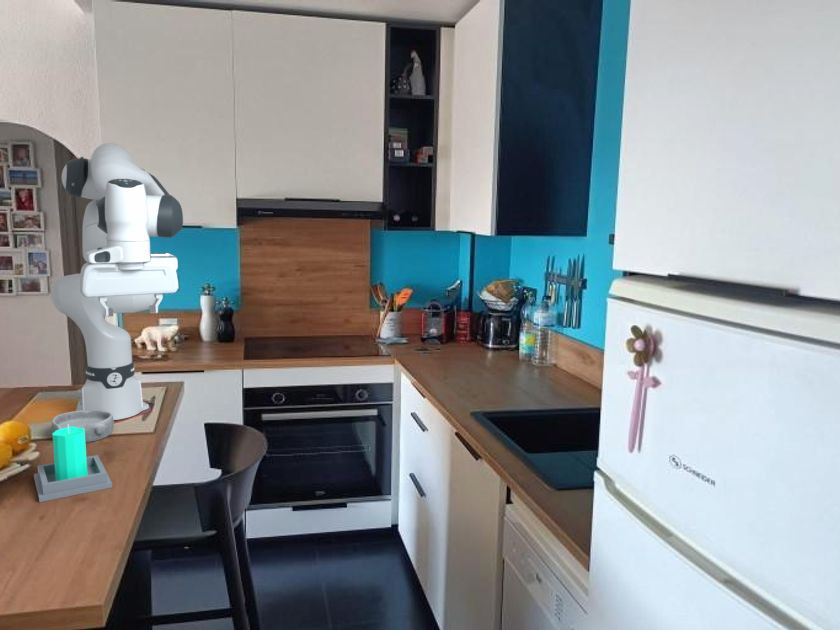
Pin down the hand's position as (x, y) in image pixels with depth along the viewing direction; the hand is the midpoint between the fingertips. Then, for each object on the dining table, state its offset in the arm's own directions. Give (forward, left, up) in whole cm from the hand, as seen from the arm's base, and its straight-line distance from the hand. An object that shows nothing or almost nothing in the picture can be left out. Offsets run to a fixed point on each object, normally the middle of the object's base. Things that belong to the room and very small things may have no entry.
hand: (131, 314), depth 147 cm
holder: (+10, -15, -33) cm, 38 cm away
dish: (-20, -9, -34) cm, 40 cm away
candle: (+11, -15, -32) cm, 37 cm away
